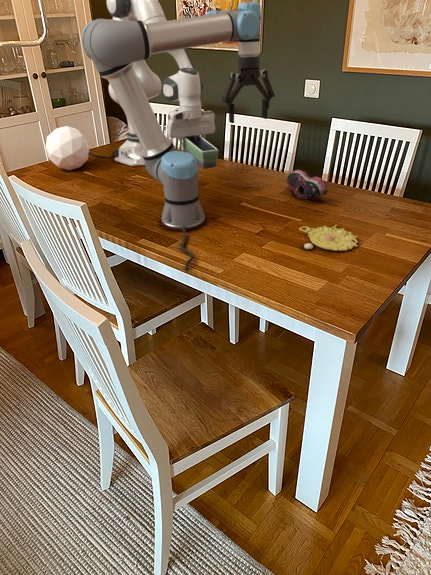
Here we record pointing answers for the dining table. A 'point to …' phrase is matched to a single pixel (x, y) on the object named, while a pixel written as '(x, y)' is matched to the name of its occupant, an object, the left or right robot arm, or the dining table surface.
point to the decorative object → (330, 238)
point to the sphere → (67, 148)
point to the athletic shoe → (306, 185)
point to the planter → (201, 151)
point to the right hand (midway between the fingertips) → (248, 120)
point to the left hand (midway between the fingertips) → (192, 146)
